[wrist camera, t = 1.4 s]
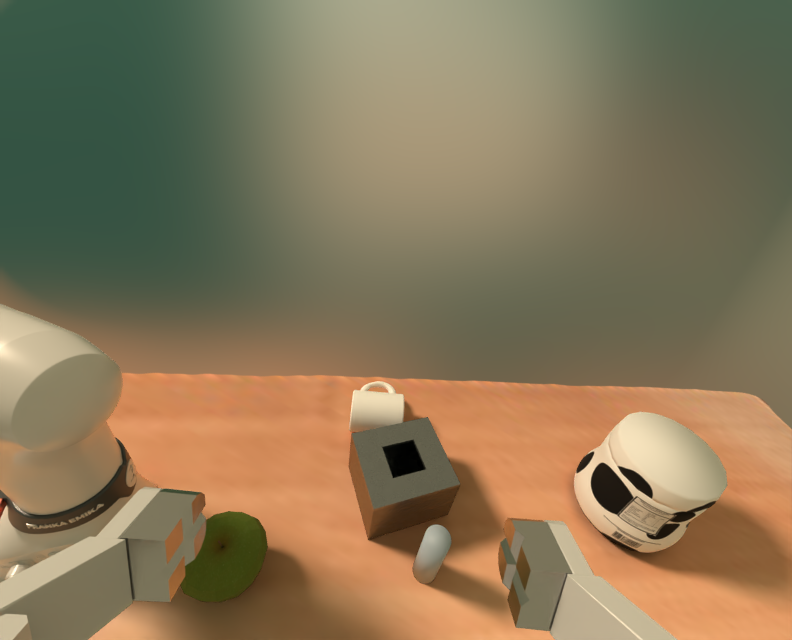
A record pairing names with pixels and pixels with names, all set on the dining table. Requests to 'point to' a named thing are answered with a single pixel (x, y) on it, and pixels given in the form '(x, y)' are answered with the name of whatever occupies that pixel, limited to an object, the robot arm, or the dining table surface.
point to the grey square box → (401, 476)
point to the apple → (226, 558)
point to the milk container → (648, 482)
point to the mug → (375, 408)
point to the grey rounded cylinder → (431, 553)
